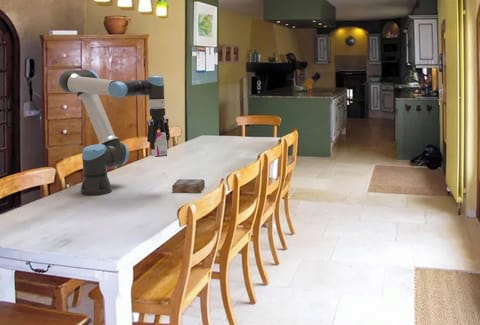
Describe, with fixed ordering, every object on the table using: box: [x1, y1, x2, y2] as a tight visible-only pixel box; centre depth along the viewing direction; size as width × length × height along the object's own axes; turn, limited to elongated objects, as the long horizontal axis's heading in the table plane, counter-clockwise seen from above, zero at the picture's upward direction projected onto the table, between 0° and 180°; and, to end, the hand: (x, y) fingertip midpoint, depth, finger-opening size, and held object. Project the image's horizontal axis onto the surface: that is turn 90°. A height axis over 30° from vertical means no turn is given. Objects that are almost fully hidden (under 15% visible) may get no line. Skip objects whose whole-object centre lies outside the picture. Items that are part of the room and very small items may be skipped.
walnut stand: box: [171, 178, 206, 194], centre depth 293 cm, size 14×14×4 cm
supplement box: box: [154, 131, 168, 158], centre depth 281 cm, size 6×6×12 cm
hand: (159, 154), depth 282 cm, fingers closed on supplement box, 8 cm apart
